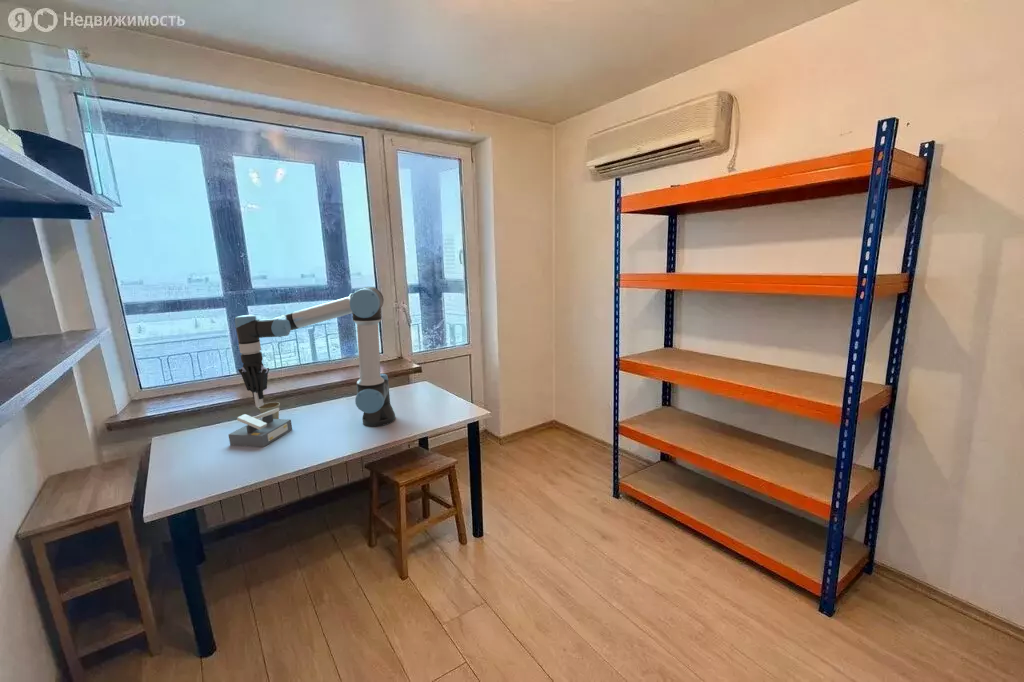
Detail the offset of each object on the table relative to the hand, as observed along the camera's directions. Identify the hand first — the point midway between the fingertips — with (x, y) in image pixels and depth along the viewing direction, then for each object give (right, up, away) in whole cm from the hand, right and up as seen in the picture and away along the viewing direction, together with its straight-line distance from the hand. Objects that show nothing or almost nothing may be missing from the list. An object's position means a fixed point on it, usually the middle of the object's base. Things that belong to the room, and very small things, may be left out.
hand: (259, 406), depth 175 cm
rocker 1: (-5, -8, +2) cm, 9 cm away
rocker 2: (-3, -6, +11) cm, 13 cm away
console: (-4, -15, +8) cm, 18 cm away
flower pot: (-10, -12, +25) cm, 30 cm away
